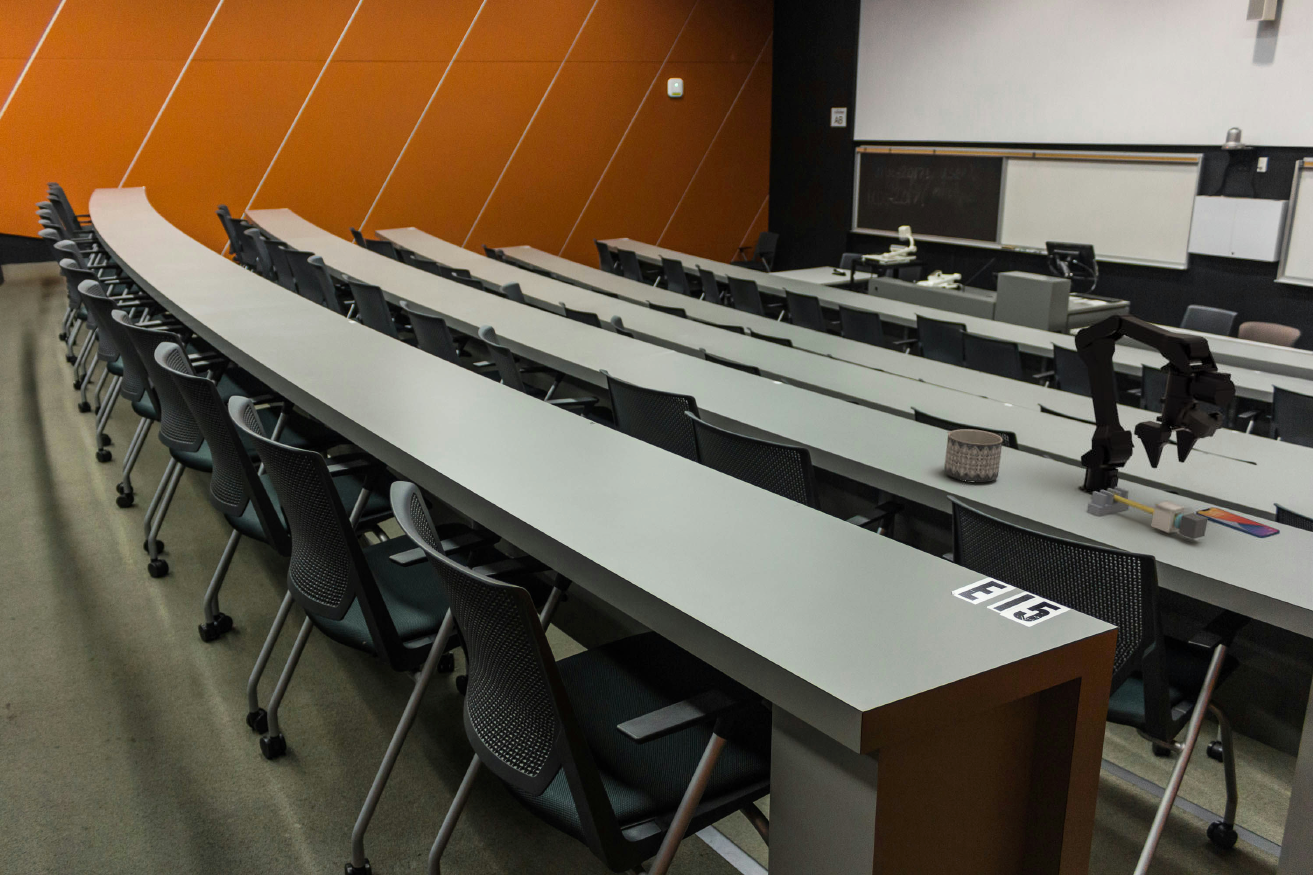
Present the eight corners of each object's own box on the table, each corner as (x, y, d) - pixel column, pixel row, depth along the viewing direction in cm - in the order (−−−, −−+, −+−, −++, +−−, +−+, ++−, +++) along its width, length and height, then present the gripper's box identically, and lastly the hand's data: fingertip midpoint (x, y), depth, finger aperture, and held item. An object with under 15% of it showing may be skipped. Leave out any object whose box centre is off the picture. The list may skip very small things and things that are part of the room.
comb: (1086, 511, 212) (1089, 492, 211) (1116, 504, 217) (1119, 485, 216) (1098, 516, 210) (1101, 496, 209) (1128, 509, 214) (1131, 489, 213)
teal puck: (1173, 529, 198) (1175, 514, 197) (1182, 526, 200) (1185, 512, 199) (1176, 530, 197) (1179, 516, 197) (1186, 528, 199) (1189, 513, 198)
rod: (1102, 496, 214) (1102, 491, 213) (1105, 495, 214) (1106, 490, 214) (1183, 526, 197) (1184, 520, 197) (1187, 525, 198) (1188, 520, 197)
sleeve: (1151, 526, 202) (1155, 504, 201) (1163, 523, 204) (1167, 501, 202) (1168, 532, 199) (1172, 510, 197) (1180, 529, 200) (1185, 507, 199)
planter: (979, 489, 226) (984, 447, 223) (933, 475, 235) (937, 435, 232) (1007, 478, 234) (1012, 437, 231) (961, 465, 243) (966, 426, 240)
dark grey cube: (1174, 531, 198) (1177, 514, 197) (1185, 529, 199) (1188, 511, 198) (1193, 539, 194) (1196, 520, 193) (1204, 536, 196) (1207, 517, 195)
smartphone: (1260, 541, 199) (1262, 536, 199) (1192, 516, 212) (1193, 511, 211) (1281, 535, 203) (1282, 530, 202) (1213, 511, 215) (1214, 506, 215)
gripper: (1187, 409, 191) (1174, 482, 196) (1244, 399, 200) (1230, 470, 204) (1138, 396, 201) (1126, 466, 205) (1194, 387, 209) (1181, 455, 214)
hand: (1167, 465), depth 207 cm, fingers open, 9 cm apart
